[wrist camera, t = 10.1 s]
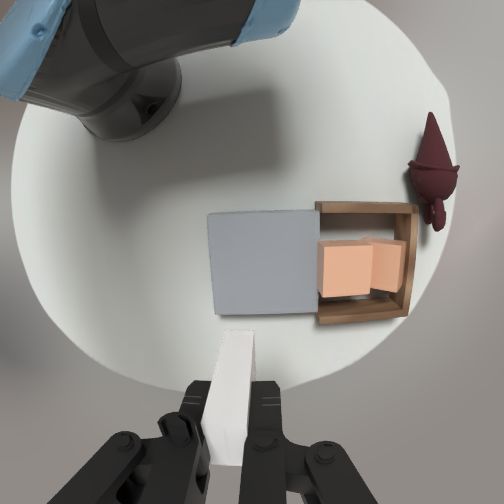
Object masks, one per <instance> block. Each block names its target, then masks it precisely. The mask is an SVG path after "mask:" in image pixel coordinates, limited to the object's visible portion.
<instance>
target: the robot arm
mask: <svg viewBox="0 0 504 504" xmlns="http://www.w3.org/2000/svg"><path fill="white" fill-rule="evenodd" d="M300 1H301V0H16V2H15V3H14V4H13V5H12V7H11V8H10V9H9V11H8V12H7V14H6V15H5V17H4V19H3V20H2V22H1V24H0V96H3V97H5V98H8V99H9V100H10V101H14V102H16V101H22V102H26V103H30V104H34V105H38V106H42V107H45V108H49V109H53V110H56V111H60V112H63V113H67V114H71V115H74V116H76V117H77V118H78V119H79V120H80V121H81V122H82V124H83V125H84V127H85V128H86V129H87V130H88V131H89V132H90V133H92V134H93V135H95V136H97V137H99V138H102V139H106V140H110V141H116V142H122V141H129V140H132V139H135V138H138V137H140V136H142V135H144V134H146V133H148V132H149V131H151V130H152V129H153V128H155V127H156V126H157V125H158V124H159V123H160V122H161V121H162V120H163V119H164V118H165V117H166V116H167V114H168V113H169V111H170V110H171V108H172V107H173V105H174V103H175V101H176V99H177V97H178V94H179V90H180V86H181V70H180V66H179V64H178V61H177V60H176V58H175V57H178V56H182V55H186V54H190V53H194V52H198V51H203V50H208V49H213V48H218V47H224V46H230V47H234V46H237V45H239V44H241V43H243V42H249V41H255V40H261V39H268V38H273V37H277V36H279V35H281V34H282V33H284V32H285V31H286V30H287V29H288V28H289V27H290V25H291V23H292V22H293V21H294V19H295V17H296V14H297V11H298V9H299V5H300ZM255 375H256V367H255V344H254V330H225V332H224V336H223V340H222V344H221V348H220V351H219V355H218V359H217V363H216V367H215V370H214V374H213V378H212V381H199V380H194V381H193V382H192V383H191V384H190V385H189V386H188V387H187V390H186V393H185V397H184V398H183V401H182V404H181V407H180V410H179V412H172V413H168V414H166V415H164V416H162V417H161V418H160V419H159V421H158V422H157V423H158V425H159V428H160V430H161V432H162V435H163V436H162V437H158V438H150V439H140V437H139V436H138V435H137V434H135V433H133V432H129V431H121V432H118V433H116V434H114V435H113V436H111V437H110V439H109V440H108V441H107V442H106V443H105V444H104V445H103V446H102V447H101V448H100V449H99V450H98V451H97V452H96V453H95V454H94V455H93V457H92V458H91V459H90V460H89V461H88V462H87V463H86V464H85V465H84V466H83V467H82V468H81V469H80V470H79V471H78V472H77V473H76V474H75V475H74V477H72V478H71V479H70V481H69V482H68V483H67V484H66V485H65V486H64V487H63V488H62V489H61V490H60V491H59V492H58V493H57V494H56V495H55V496H54V497H53V498H52V499H51V500H50V501H49V502H48V503H47V504H205V500H206V495H207V489H208V484H209V478H210V471H209V462H210V460H211V463H212V464H217V465H233V466H242V473H241V484H240V495H239V504H286V491H291V492H296V493H300V495H301V497H302V499H303V502H304V504H378V503H377V501H376V500H375V498H374V497H373V495H372V494H371V492H370V490H369V489H368V487H367V485H366V484H365V482H364V481H363V479H362V477H361V476H360V474H359V473H358V471H357V469H356V468H355V466H354V465H353V463H352V461H351V460H350V458H349V457H348V455H347V453H346V452H345V450H344V449H343V448H342V447H341V446H340V445H339V444H337V443H335V442H331V441H322V442H317V443H315V444H313V445H311V446H310V447H307V446H301V445H297V444H294V443H292V442H290V441H289V440H288V439H286V438H285V436H284V434H283V431H282V418H281V417H282V416H281V399H280V388H279V386H278V385H277V384H276V382H275V381H255Z"/></svg>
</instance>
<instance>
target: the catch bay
mask: <svg viewBox="0 0 504 504" xmlns="http://www.w3.org/2000/svg"><path fill="white" fill-rule="evenodd" d="M418 207H419V205H414V204H407V203H397V202H352V201H315V210H317V211H319V212H322V213H395V234H394V240H400V241H406V253H405V265H404V274H403V283H402V286H401V287H400V289H399V290H398V291H397V293H396V292H390V293H389V297H383V298H371V299H358V300H344V301H328V302H318V312H315V315H316V317H317V320H318V322H319V325H323V324H337V323H349V322H360V321H371V320H380V319H389V318H397V317H405V316H408V311H409V305H410V299H411V293H412V286H413V278H414V269H415V260H416V248H417V234H418Z"/></svg>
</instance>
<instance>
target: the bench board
mask: <svg viewBox="0 0 504 504" xmlns="http://www.w3.org/2000/svg"><path fill="white" fill-rule="evenodd" d="M207 225H208V240H209V254H210V266H211V279H212V290H213V301H214V311H215V315H233V314H282V313H306V312H318V294H319V291H318V289H317V250H318V241H320V212H319V211H317V210H274V211H244V212H221V213H211V214H209V215H207Z"/></svg>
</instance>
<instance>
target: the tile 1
mask: <svg viewBox="0 0 504 504" xmlns="http://www.w3.org/2000/svg"><path fill="white" fill-rule="evenodd" d="M372 257H373V245H372V244H370V243H368V242H366V241H364V240H338V241H318V250H317V289H318V291H319V292H320V294H321V296H322V297H338V296H351V295H364V294H370V283H371V271H372Z"/></svg>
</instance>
